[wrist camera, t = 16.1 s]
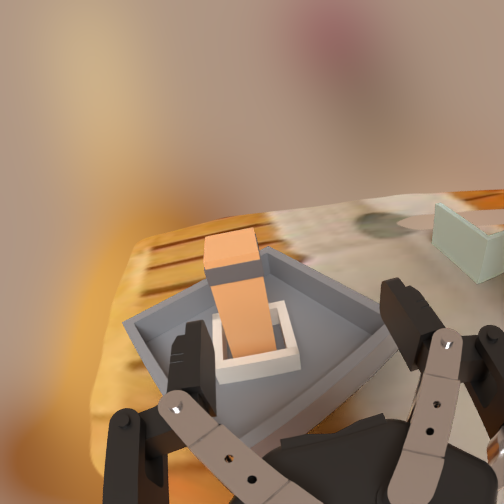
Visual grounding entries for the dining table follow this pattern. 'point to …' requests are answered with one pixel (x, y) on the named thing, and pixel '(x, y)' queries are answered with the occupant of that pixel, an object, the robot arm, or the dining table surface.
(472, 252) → the l-shaped corner panel
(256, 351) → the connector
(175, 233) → the dining table surface
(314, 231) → the dining table surface
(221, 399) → the walled box
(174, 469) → the dining table surface
